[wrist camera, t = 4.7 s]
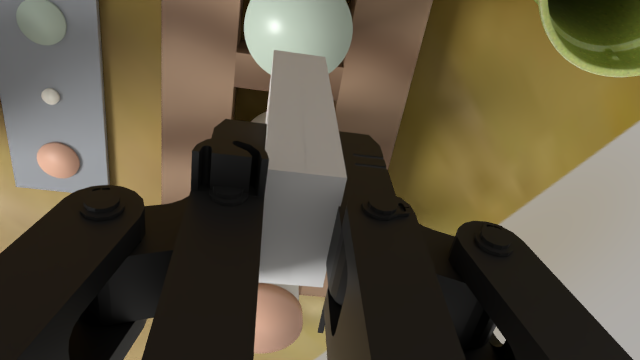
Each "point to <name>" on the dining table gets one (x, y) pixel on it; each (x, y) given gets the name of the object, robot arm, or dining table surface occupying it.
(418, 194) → the dining table surface
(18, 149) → the card
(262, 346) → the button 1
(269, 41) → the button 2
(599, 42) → the plant pot
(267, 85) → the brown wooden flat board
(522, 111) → the dining table surface
